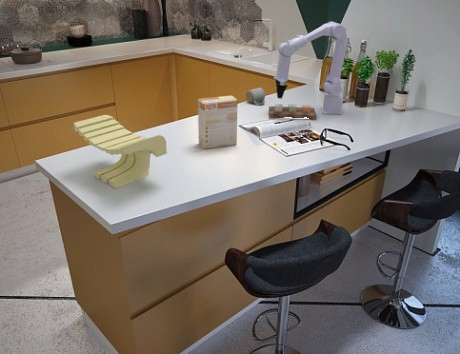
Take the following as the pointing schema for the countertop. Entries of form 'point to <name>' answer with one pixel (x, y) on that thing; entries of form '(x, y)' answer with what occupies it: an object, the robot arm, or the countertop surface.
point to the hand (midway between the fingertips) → (279, 96)
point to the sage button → (292, 108)
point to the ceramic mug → (256, 96)
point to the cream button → (278, 107)
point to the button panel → (291, 113)
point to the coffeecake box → (217, 121)
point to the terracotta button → (306, 108)
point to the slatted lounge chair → (120, 149)
